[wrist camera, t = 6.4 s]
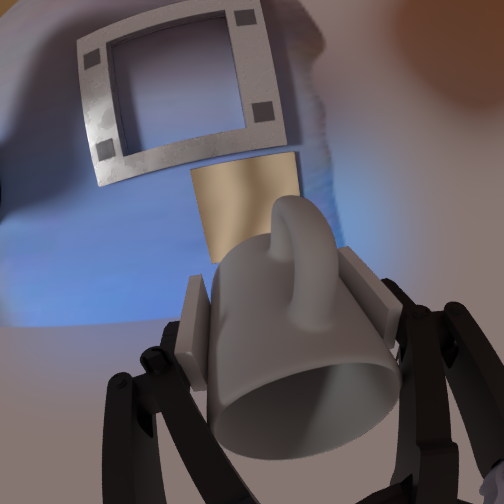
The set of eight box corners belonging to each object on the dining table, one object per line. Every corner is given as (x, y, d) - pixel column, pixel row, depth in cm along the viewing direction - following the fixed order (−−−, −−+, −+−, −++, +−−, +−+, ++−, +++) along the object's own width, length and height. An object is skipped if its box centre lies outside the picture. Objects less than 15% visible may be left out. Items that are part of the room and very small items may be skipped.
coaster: (212, 261, 35) (211, 263, 34) (190, 169, 30) (189, 169, 29) (303, 244, 35) (304, 246, 35) (293, 151, 30) (294, 151, 30)
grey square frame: (105, 183, 29) (98, 187, 27) (83, 43, 21) (76, 40, 19) (283, 144, 30) (287, 144, 28) (255, -3, 21) (257, -10, 19)
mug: (323, 327, 21) (372, 442, 11) (217, 337, 21) (218, 467, 11) (339, 176, 16) (466, 243, 6) (201, 179, 16) (159, 262, 6)
